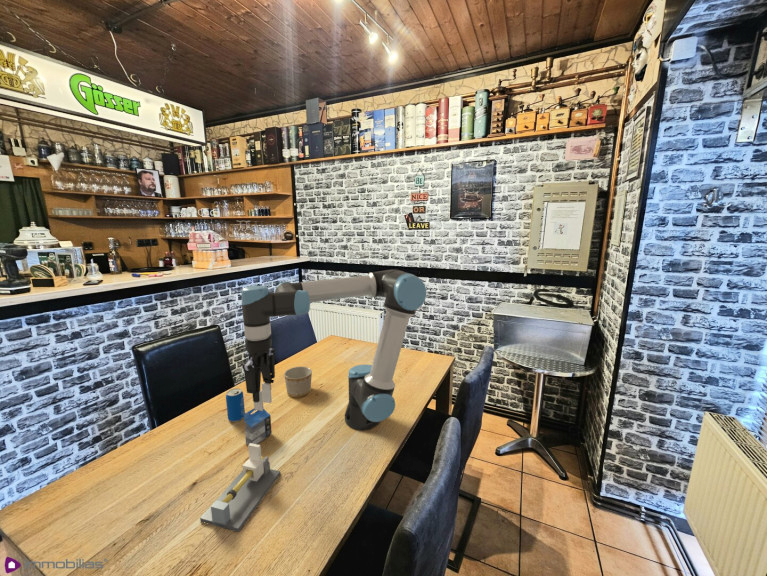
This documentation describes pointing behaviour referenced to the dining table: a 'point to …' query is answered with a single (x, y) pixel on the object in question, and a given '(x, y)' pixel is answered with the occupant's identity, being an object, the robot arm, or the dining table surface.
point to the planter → (298, 381)
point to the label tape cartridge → (257, 426)
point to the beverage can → (235, 405)
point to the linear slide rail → (240, 499)
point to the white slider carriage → (254, 462)
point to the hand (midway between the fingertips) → (263, 405)
